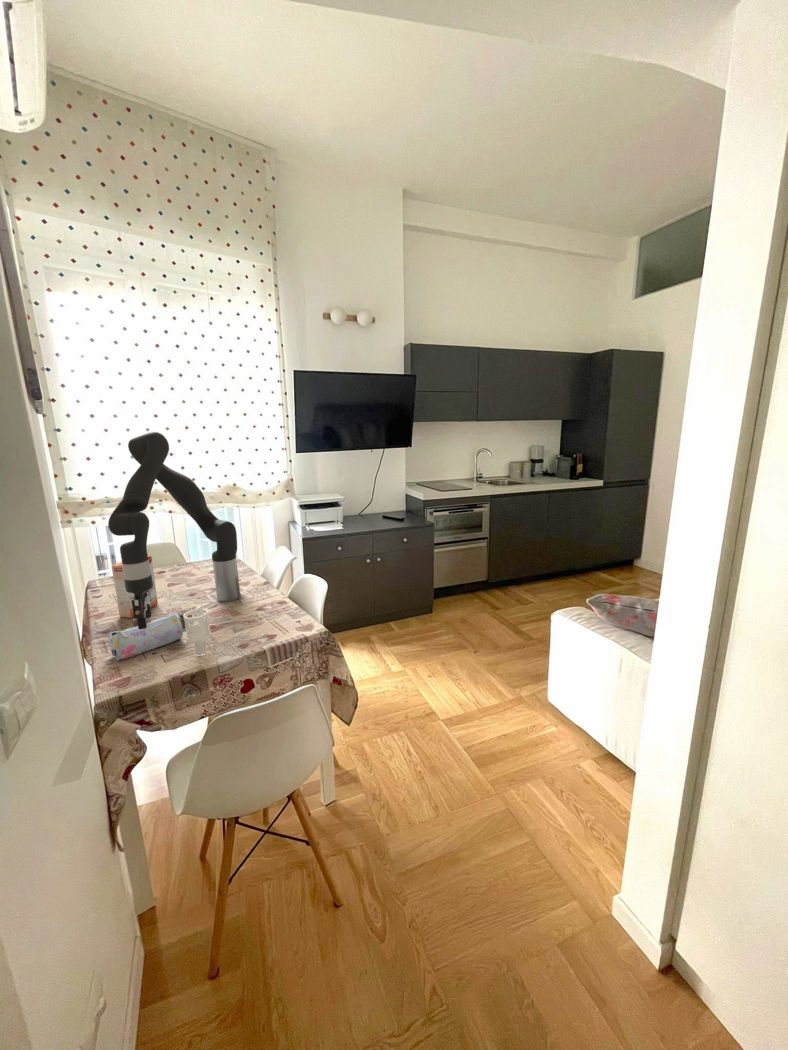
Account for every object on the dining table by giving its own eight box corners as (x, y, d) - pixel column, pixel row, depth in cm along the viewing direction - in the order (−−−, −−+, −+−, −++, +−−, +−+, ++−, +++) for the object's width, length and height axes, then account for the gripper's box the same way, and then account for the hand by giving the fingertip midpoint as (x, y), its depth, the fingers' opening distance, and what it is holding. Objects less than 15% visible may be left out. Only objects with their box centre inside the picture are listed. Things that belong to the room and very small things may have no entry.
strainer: (216, 647, 140) (211, 604, 136) (208, 659, 133) (202, 614, 129) (194, 648, 139) (188, 605, 136) (185, 660, 132) (178, 615, 129)
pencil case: (114, 666, 130) (109, 637, 128) (108, 655, 136) (103, 628, 134) (187, 642, 144) (183, 616, 142) (178, 633, 150) (175, 608, 148)
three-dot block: (151, 624, 157) (149, 612, 156) (148, 629, 153) (146, 617, 152) (137, 626, 156) (135, 614, 155) (134, 632, 152) (132, 620, 151)
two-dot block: (192, 620, 160) (190, 608, 159) (191, 625, 156) (189, 613, 155) (179, 622, 159) (177, 610, 158) (177, 627, 155) (175, 615, 154)
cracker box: (132, 618, 162) (123, 566, 158) (119, 617, 164) (109, 565, 159) (159, 603, 176) (151, 555, 171) (146, 603, 177) (138, 554, 172)
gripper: (147, 580, 129) (154, 630, 132) (154, 566, 142) (161, 612, 145) (118, 584, 126) (127, 634, 130) (128, 569, 139) (136, 615, 143)
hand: (145, 622), depth 138 cm, fingers open, 8 cm apart
